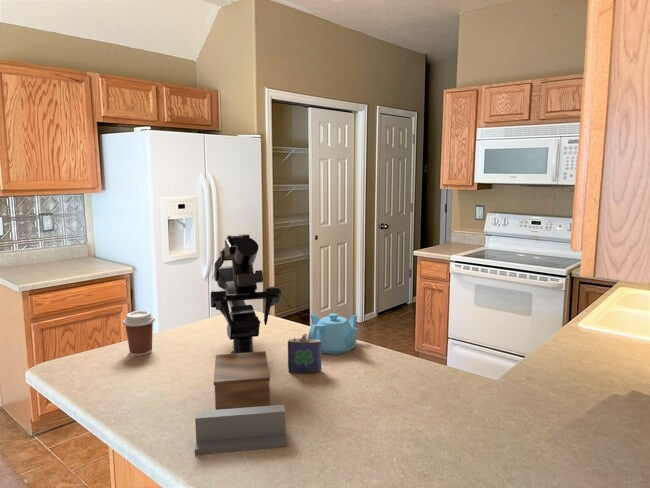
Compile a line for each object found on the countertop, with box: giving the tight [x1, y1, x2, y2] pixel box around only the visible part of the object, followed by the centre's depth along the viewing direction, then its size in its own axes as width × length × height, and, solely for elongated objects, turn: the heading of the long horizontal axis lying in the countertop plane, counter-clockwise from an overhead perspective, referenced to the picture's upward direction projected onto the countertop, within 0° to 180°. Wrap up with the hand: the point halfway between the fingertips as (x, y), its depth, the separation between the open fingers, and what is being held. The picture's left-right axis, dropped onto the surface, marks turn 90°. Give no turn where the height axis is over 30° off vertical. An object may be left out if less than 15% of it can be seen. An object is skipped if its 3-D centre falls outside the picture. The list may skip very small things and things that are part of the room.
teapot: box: [307, 312, 359, 355], centre depth 156 cm, size 15×15×11 cm
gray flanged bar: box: [194, 404, 288, 455], centre depth 102 cm, size 6×18×6 cm, turn 99°
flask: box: [287, 333, 322, 375], centre depth 137 cm, size 9×3×11 cm, turn 88°
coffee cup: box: [122, 310, 156, 357], centre depth 153 cm, size 9×9×12 cm
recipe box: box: [213, 350, 271, 410], centre depth 120 cm, size 16×12×9 cm
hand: (248, 325), depth 133 cm, fingers open, 9 cm apart
